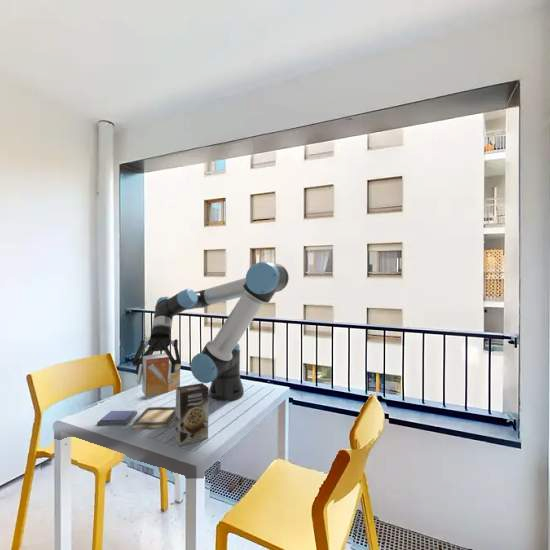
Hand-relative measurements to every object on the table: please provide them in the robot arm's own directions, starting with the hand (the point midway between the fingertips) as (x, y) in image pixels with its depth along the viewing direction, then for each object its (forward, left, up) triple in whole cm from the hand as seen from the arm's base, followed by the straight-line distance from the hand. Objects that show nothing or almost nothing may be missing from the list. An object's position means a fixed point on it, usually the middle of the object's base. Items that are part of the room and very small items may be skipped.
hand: (153, 381), depth 112 cm
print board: (0, -3, -14) cm, 15 cm away
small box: (+1, -3, -5) cm, 6 cm away
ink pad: (+14, -3, -14) cm, 20 cm away
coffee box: (-16, +11, -15) cm, 25 cm away
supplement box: (+5, -35, -15) cm, 38 cm away
